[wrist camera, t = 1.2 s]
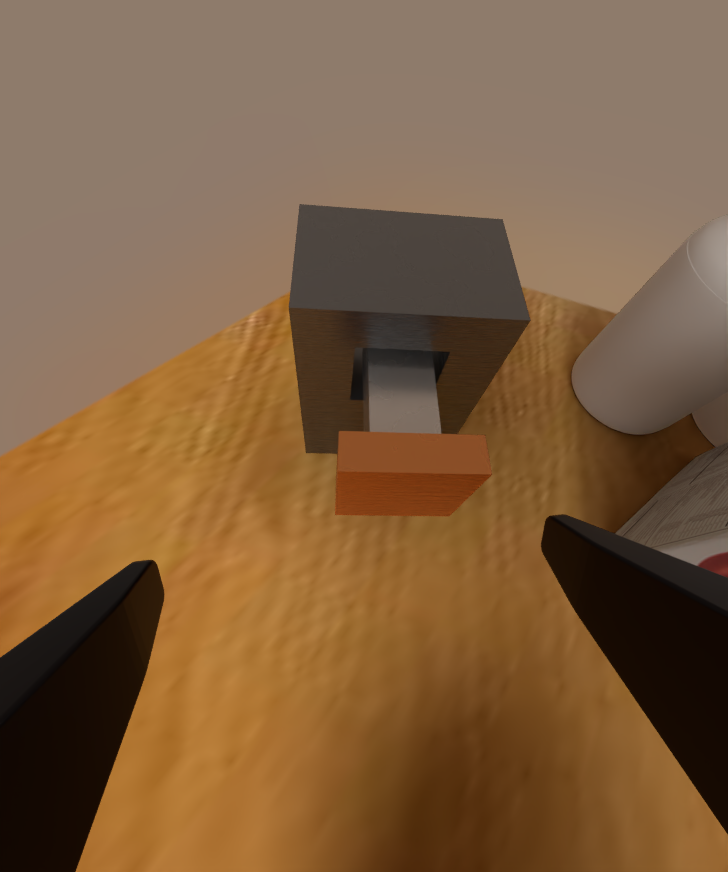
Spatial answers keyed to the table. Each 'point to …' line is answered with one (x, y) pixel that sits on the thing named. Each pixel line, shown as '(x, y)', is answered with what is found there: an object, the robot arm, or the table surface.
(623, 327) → the pill bottle
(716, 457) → the supplement box
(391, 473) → the pin
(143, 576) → the robot arm
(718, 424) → the cylindrical container
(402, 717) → the table surface
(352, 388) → the block
